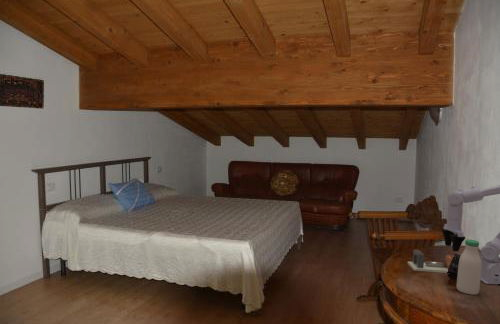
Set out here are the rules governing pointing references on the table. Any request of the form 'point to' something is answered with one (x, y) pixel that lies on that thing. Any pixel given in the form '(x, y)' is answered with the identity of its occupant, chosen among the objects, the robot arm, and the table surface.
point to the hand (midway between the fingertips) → (451, 248)
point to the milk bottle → (469, 269)
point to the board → (428, 268)
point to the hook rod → (446, 264)
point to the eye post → (418, 258)
